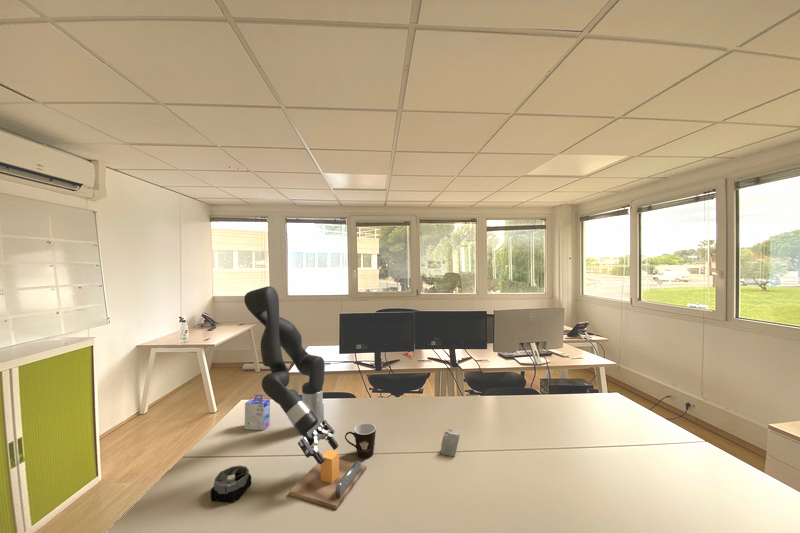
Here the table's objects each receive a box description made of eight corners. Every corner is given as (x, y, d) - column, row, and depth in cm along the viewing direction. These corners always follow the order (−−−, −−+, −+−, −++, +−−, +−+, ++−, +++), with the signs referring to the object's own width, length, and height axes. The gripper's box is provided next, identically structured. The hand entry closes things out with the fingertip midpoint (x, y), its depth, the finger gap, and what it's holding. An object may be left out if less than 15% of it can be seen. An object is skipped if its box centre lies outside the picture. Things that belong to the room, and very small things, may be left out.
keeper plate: (324, 458, 116) (324, 445, 116) (366, 468, 110) (366, 454, 110) (289, 495, 98) (289, 479, 98) (336, 509, 91) (336, 492, 91)
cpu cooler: (227, 464, 105) (255, 465, 104) (227, 480, 105) (255, 482, 104) (205, 485, 95) (236, 486, 94) (205, 503, 95) (236, 505, 94)
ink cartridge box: (270, 424, 143) (270, 394, 143) (264, 430, 138) (263, 399, 138) (251, 423, 144) (251, 393, 145) (244, 429, 139) (243, 398, 139)
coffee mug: (380, 450, 121) (379, 425, 121) (369, 463, 113) (368, 436, 113) (355, 444, 126) (355, 420, 126) (343, 455, 118) (343, 429, 118)
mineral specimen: (463, 455, 116) (459, 435, 116) (441, 458, 118) (437, 438, 118) (463, 444, 123) (459, 425, 123) (442, 446, 125) (438, 427, 125)
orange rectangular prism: (328, 472, 107) (327, 449, 107) (339, 474, 105) (338, 451, 105) (320, 480, 102) (320, 456, 103) (332, 483, 101) (331, 459, 101)
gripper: (294, 420, 101) (324, 461, 97) (319, 402, 114) (346, 437, 110) (282, 433, 103) (311, 474, 99) (308, 414, 116) (334, 449, 112)
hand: (329, 455), depth 105 cm, fingers open, 8 cm apart
